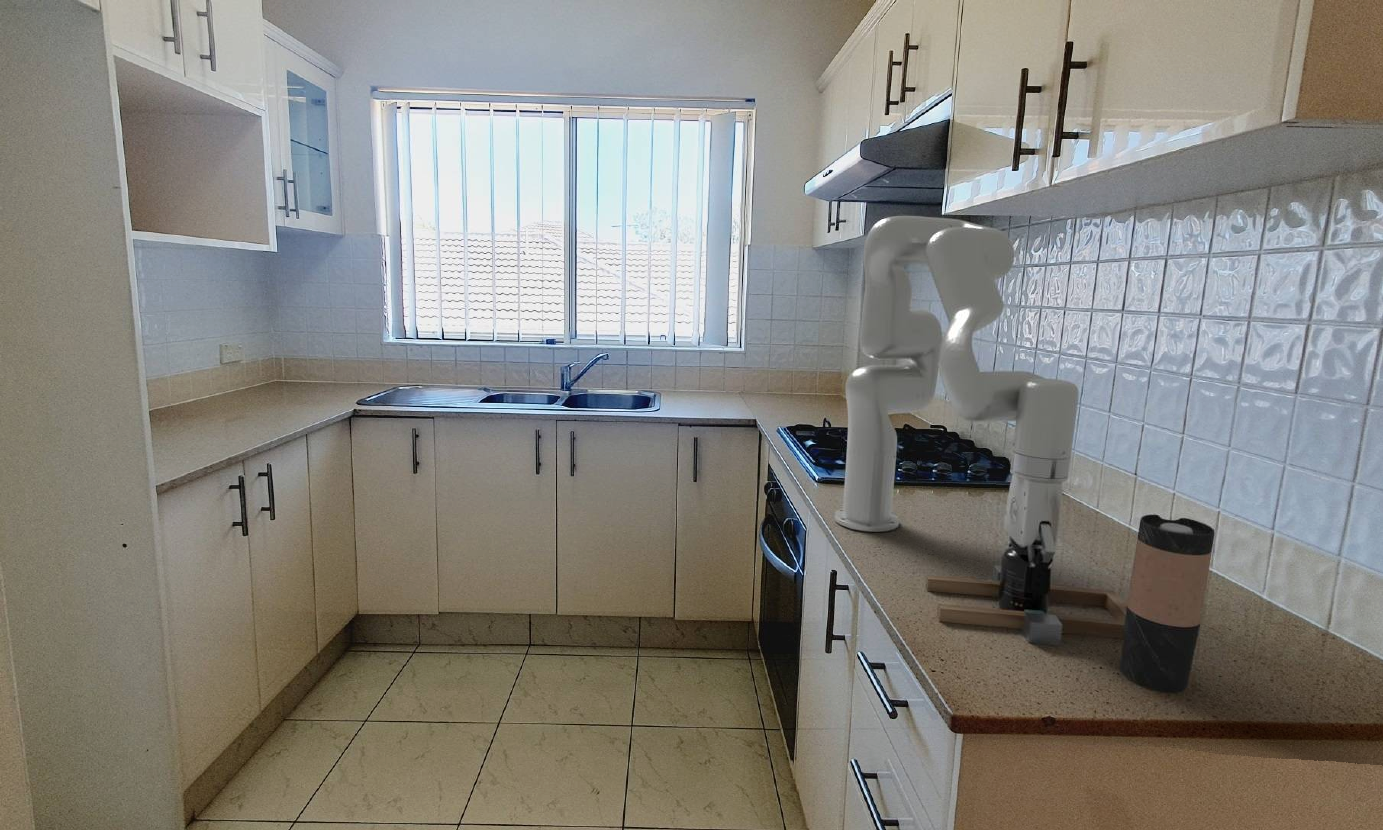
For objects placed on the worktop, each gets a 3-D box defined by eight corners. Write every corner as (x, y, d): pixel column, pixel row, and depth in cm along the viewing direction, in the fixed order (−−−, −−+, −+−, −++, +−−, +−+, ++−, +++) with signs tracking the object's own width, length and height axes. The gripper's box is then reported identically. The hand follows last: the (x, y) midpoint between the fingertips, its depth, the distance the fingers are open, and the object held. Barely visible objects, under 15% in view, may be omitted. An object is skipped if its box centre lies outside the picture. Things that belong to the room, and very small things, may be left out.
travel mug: (1162, 699, 85) (1188, 538, 81) (1103, 667, 92) (1125, 517, 88) (1204, 686, 88) (1231, 530, 84) (1143, 656, 95) (1166, 511, 91)
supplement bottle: (1004, 596, 112) (1012, 522, 110) (1052, 609, 108) (1061, 533, 105) (990, 611, 107) (999, 534, 104) (1039, 626, 103) (1049, 546, 100)
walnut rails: (925, 586, 115) (926, 572, 114) (1110, 602, 111) (1112, 588, 110) (939, 621, 103) (940, 606, 103) (1146, 640, 99) (1149, 625, 99)
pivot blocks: (991, 582, 117) (993, 565, 116) (1017, 584, 116) (1019, 567, 116) (1028, 642, 98) (1030, 622, 97) (1059, 645, 97) (1062, 624, 96)
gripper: (996, 450, 112) (985, 556, 115) (1030, 480, 95) (1015, 604, 98) (1048, 452, 111) (1034, 560, 114) (1091, 484, 94) (1074, 609, 97)
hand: (1026, 579), depth 106 cm, fingers open, 8 cm apart
